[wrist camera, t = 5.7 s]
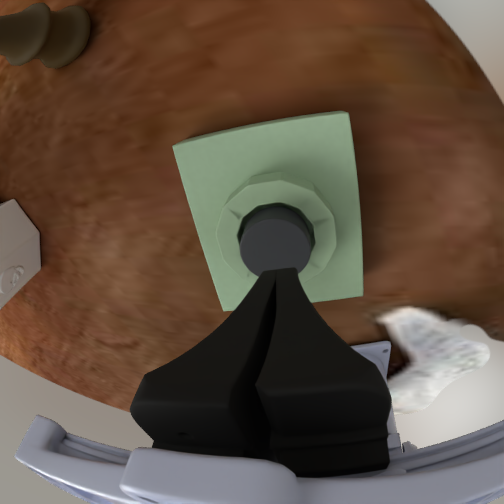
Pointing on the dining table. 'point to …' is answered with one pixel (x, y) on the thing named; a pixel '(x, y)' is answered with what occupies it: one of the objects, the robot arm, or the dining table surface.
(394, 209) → the dining table surface
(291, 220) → the push button
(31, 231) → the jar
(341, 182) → the green button box
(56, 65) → the kendama
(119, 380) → the dining table surface
